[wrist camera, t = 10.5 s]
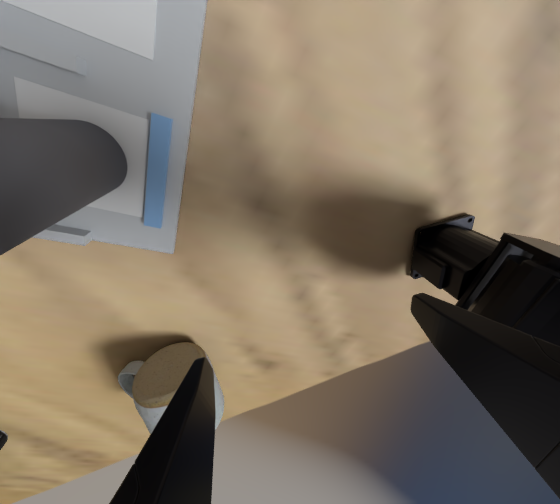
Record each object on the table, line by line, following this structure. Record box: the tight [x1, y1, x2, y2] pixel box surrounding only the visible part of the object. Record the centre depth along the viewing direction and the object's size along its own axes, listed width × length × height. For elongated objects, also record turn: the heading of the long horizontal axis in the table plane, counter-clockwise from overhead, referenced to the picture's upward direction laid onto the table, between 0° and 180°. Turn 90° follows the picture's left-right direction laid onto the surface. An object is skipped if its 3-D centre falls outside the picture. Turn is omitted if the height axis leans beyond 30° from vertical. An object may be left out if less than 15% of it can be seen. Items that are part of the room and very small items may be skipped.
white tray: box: [0, 0, 208, 254], centre depth 13 cm, size 23×12×2 cm, turn 162°
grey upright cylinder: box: [0, 118, 127, 255], centre depth 10 cm, size 5×5×13 cm
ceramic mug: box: [118, 342, 224, 434], centre depth 24 cm, size 11×8×8 cm
